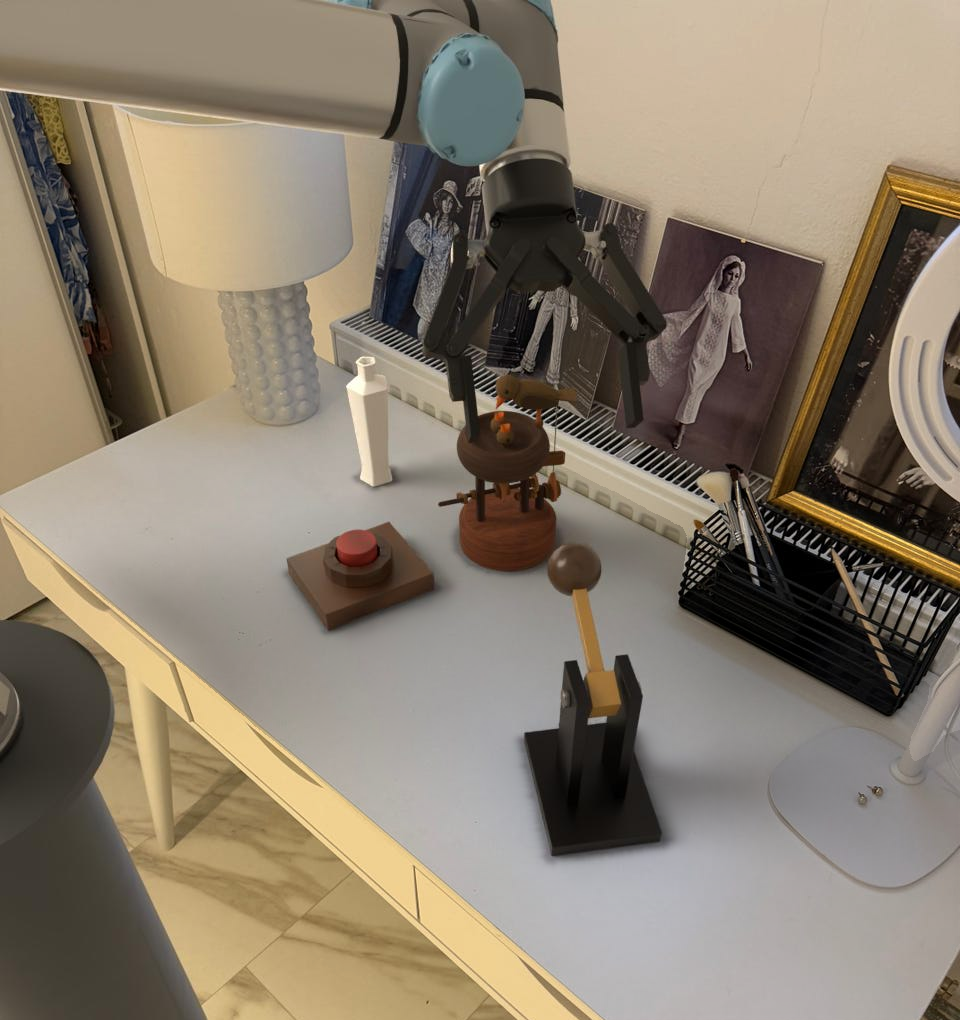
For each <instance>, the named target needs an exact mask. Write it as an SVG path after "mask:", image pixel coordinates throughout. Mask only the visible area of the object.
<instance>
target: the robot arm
mask: <svg viewBox="0 0 960 1020" xmlns="http://www.w3.org/2000/svg"><path fill="white" fill-rule="evenodd" d="M558 44H559V33H558V29H557V25H556V20H555V13H554V9H553V4H552V0H0V91H2V92H11V93H17V94H18V93H19V94H27V95H35V96H42V97H49V98H58V99H65V100H74V101H81V102H88V103H89V102H90V103H97V104H104V105H111V106H113V105H114V106H121V107H129V108H134V109H135V108H136V109H143V110H144V109H145V110H152V111H159V112H166V113H167V112H168V113H174V114H175V113H176V114H183V115H191V116H198V117H205V118H206V117H207V118H214V119H220V120H230V121H237V122H244V123H253V124H261V125H269V126H276V127H284V128H292V129H299V130H307V131H313V132H314V131H315V132H324V133H330V134H339V135H346V136H354V137H362V138H370V139H377V140H378V139H379V140H385V141H389V142H394V143H395V142H396V143H402V144H409V145H416V146H417V145H419V146H424V147H427V148H428V150H429V151H430V152H432V153H433V154H434V155H435V156H438V157H440V158H441V159H444V160H446V161H448V162H450V163H452V164H454V165H458V166H462V167H477V166H478V168H479V175H480V178H481V181H482V182H483V183H482V186H481V194H482V203H483V211H484V220H485V230H486V236H485V239H469V238H468V236H467V235H466V234H465V233H462V232H459V233H456V234H455V235H454V236H453V237H452V243H451V249H450V268H449V271H448V274H447V276H446V279H445V281H444V284H443V287H442V289H441V292H440V294H439V298H438V300H437V303H436V306H435V308H434V311H433V314H432V316H431V319H430V322H429V324H428V327H427V330H426V332H425V336H424V338H423V343H422V349H421V354H422V355H423V357H424V358H426V359H428V360H429V359H435V360H438V361H441V362H442V363H443V364H444V365H445V369H446V378H447V386H448V395H449V398H450V400H451V403H453V402H455V403H456V402H462V403H463V404H462V405H463V412H464V413H463V414H464V422H465V425H466V431H467V440H468V443H475V442H477V441H478V439H479V437H480V428H479V420H478V416H479V412H478V411H479V410H478V403H477V395H476V385H475V377H474V367H473V360H472V359H473V358H472V354H466V355H464V353H465V351H466V350H467V349H468V347H469V346H470V344H471V343H472V341H473V340H474V338H475V337H476V336H477V334H478V333H479V331H480V330H481V328H482V327H483V325H484V324H485V322H486V321H487V320H488V318H489V317H490V315H491V314H492V312H493V311H494V309H495V308H496V306H497V305H498V303H499V302H500V301H501V300H502V298H503V297H504V296H505V294H506V292H507V291H508V290H509V288H510V289H512V290H513V291H515V292H518V295H523V294H524V295H525V294H530V293H532V292H535V291H538V292H545V293H548V292H549V293H550V292H556V290H557V289H559V288H560V287H562V288H563V290H565V291H566V292H567V293H568V294H569V295H571V296H572V297H575V298H577V299H578V300H579V302H581V303H582V304H583V305H584V306H585V307H586V308H587V309H588V310H589V311H590V312H591V313H592V314H593V315H594V316H595V317H596V318H597V319H598V320H599V321H600V322H601V323H602V324H603V325H604V326H605V327H606V328H607V329H608V330H609V331H610V332H611V333H612V334H613V335H614V337H616V338H617V339H618V340H619V341H620V342H621V343H622V344H623V345H622V346H621V347H620V349H619V350H618V351H617V359H618V367H619V375H620V385H621V393H622V403H623V412H624V419H625V420H624V421H625V429H635V428H636V427H638V426H639V425H640V424H641V423H643V422H644V419H645V418H644V409H643V402H642V396H641V395H642V393H641V386H644V385H646V383H648V381H649V378H650V364H649V356H648V347H647V345H648V343H649V342H651V341H655V340H657V338H658V337H660V335H662V333H663V332H664V331H665V330H666V328H667V326H668V322H667V319H666V318H665V316H664V315H663V313H662V311H661V309H660V308H659V307H658V305H657V303H656V302H655V300H654V299H653V297H652V295H651V293H650V292H649V291H648V289H647V288H646V285H645V284H644V283H643V281H642V279H641V278H640V276H639V275H638V273H637V271H636V270H635V268H634V266H633V265H632V263H631V262H630V260H629V259H628V257H627V256H626V254H625V252H624V251H623V248H622V245H621V240H620V236H619V232H618V228H617V226H616V225H615V224H614V223H612V222H608V223H605V224H604V225H603V227H602V229H599V230H593V231H589V232H583V231H582V229H581V228H580V225H579V223H578V215H577V207H576V196H575V190H574V180H573V179H574V178H573V174H572V171H571V170H570V169H569V168H570V166H571V153H570V144H569V138H568V130H567V123H566V115H565V108H564V104H565V103H564V95H563V86H562V76H561V75H562V74H561V66H560V57H559V56H560V55H559V47H558ZM584 250H587V251H589V252H590V253H591V255H592V256H593V258H594V259H595V260H600V263H601V266H602V268H603V270H604V272H605V275H607V277H608V279H609V280H610V282H611V283H612V285H613V287H614V288H615V290H616V291H617V293H618V295H619V296H620V298H621V299H622V302H624V305H625V306H626V307H627V309H626V308H625V307H624V306H623V305H622V304H621V303H620V302H619V300H617V299H616V297H614V296H613V295H612V294H611V293H610V292H609V291H608V290H607V289H606V288H605V287H604V286H603V285H602V284H601V283H600V282H599V281H598V280H597V279H596V278H595V277H594V276H593V275H592V273H591V270H590V269H589V267H588V266H586V265H585V263H584V262H583V261H581V259H580V256H581V255H582V253H583V251H584ZM481 257H483V258H484V260H485V261H486V262H487V264H488V265H489V266H490V267H491V268H492V269H493V270H494V272H495V273H494V275H493V276H492V278H491V279H490V281H489V283H488V285H487V286H486V287H485V289H484V291H483V292H482V293H481V295H480V296H479V298H478V299H477V301H476V302H475V303H474V305H473V306H472V308H471V310H470V311H469V312H468V314H467V315H466V317H465V318H464V319H463V321H462V322H461V324H460V326H459V327H458V328H457V330H456V331H455V333H454V334H453V335H452V337H451V339H450V340H444V339H443V336H444V334H445V331H446V329H447V326H448V323H449V320H450V318H451V315H452V312H453V310H454V307H455V305H456V302H457V299H458V296H459V293H460V290H461V287H462V286H463V282H464V279H465V275H466V270H470V269H473V268H474V267H475V265H476V263H477V260H478V259H479V258H481ZM23 717H24V713H23V707H22V703H21V701H20V698H19V696H18V695H17V693H16V691H15V689H14V687H13V685H12V684H11V683H10V682H9V680H8V679H7V678H6V677H5V676H4V675H3V674H2V673H1V672H0V762H1V761H2V760H3V759H4V758H5V757H6V755H7V754H8V753H9V752H10V750H11V749H12V747H13V746H14V744H15V743H16V741H17V739H18V737H19V734H20V732H21V729H22V725H23Z"/></svg>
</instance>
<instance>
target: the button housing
mask: <svg viewBox="0 0 960 1020" xmlns="http://www.w3.org/2000/svg"><path fill="white" fill-rule="evenodd" d="M364 530H365V531H368V532H370V533H372V534H373V535H374V536H375V538H376V543H377V557H376V559H375V560H374V561H373V562H372V563H370V564H368V565H365V566H362V567H349V566H346V565H344V564H343V563H341V562H340V560H339V558H338V552H337V545H336V542H337V539H338V538H339V537H340V536H341V535H342V534H339V535H336V536H334V538H332V539H331V540H330V541H329V542H327V543H325V544H322V545H319V546H316V547H314V548H310V549H308V550H305V551H302V552H300V553H297V554H295V555H292V556H289V557H286V558H285V559H286V565H287V570H288V575H289V576H290V577H291V579H292V580H293V582H294V583H295V584H296V586H297V588H298V590H300V591H301V593H302V595H303V596H304V598H305V599H306V600H307V602H308V603H309V605H310V606H311V608H312V609H313V611H314V612H315V613H316V615H317V617H318V618H319V619H320V620H321V622H322V623H323V626H324V627H325V628H326V629H327V630H328V631H331V630H334V629H335V628H338V627H340V626H341V627H342V626H343V625H346V624H349V623H351V622H354V621H356V620H359V619H362V618H364V617H366V616H369V615H372V614H374V613H376V612H379V611H381V610H384V609H387V608H389V607H392V606H394V605H396V604H399V603H403V602H405V601H407V600H410V599H413V598H415V597H417V596H420V595H423V594H425V593H427V592H430V591H432V590H434V589H435V579H434V572H433V571H432V570H431V569H430V568H429V566H428V565H427V564H426V563H425V562H424V560H423V559H422V558H421V557H420V556H419V555H418V553H417V552H416V551H415V550H414V548H412V547H411V546H410V544H409V543H408V542H407V540H406V539H405V538H404V537H403V536H402V535H401V533H399V531H398V530H397V529H396V528H395V527H394V526H393V524H392V523H391V522H390V521H386V522H384V523H382V524H378V525H376V526H375V525H374V526H372V527H370V528H367V529H364Z"/></svg>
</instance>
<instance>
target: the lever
mask: <svg viewBox="0 0 960 1020" xmlns="http://www.w3.org/2000/svg"><path fill="white" fill-rule="evenodd" d="M602 568H603V567H602V561H601V559H600V556H599V555H598V553H597V552H596V550H595V549H594V548H592V547H591V546H590V545H588V544H586V543H583V542H579V541H569V542H566V543H563V544H561V545H559V546H558V547H556V549H555V550H553V551H552V553H551V554H550V555H549V557H548V561H547V565H546V573H547V578H548V581H549V584H551V586H552V587H553V588H554V589H555V590H556V591H557V592H559V593H560V594H562V595H565V596H567V597H571V598H572V603H573V604H572V605H573V608H574V613H575V617H576V618H575V619H576V621H577V627H578V631H579V637H580V641H581V647H582V651H583V655H584V660H585V665H586V669H587V673H585V675H584V677H583V681H584V684H585V688H586V691H587V694H588V697H589V700H590V708H589V716H588V719H596V718H604V717H605V718H606V717H607V716H613V715H616V714H617V712H618V710H619V708H620V706H621V699H620V695H619V690H618V686H617V681H616V677H615V672H614V669H610V670H605V666H604V662H603V657H602V652H601V649H600V644H599V640H598V633H597V629H596V626H595V621H594V616H593V613H592V607H591V602H590V598H589V593H590V592H591V591H593V590H594V588H595V587H596V586H597V585H598V584H599V581H600V579H601V576H602Z"/></svg>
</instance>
